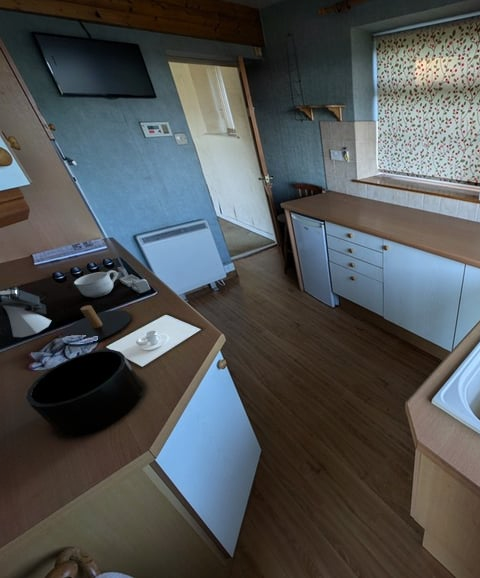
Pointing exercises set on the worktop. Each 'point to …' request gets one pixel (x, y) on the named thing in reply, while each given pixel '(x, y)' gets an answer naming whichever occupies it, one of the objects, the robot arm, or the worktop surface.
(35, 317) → the flask
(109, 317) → the lid
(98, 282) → the teacup
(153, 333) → the teacup and saucer
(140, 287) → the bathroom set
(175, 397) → the worktop surface
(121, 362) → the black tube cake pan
